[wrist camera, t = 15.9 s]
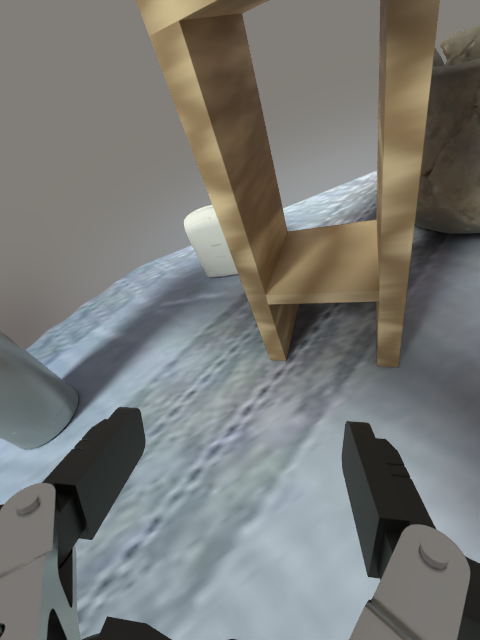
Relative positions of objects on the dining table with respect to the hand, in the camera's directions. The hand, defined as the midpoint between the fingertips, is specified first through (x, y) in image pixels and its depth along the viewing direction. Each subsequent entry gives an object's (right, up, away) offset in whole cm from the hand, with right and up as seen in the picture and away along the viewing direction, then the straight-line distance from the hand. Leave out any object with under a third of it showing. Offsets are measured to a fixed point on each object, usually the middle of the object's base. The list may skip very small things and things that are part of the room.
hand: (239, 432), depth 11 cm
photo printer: (-1, +13, +42) cm, 44 cm away
